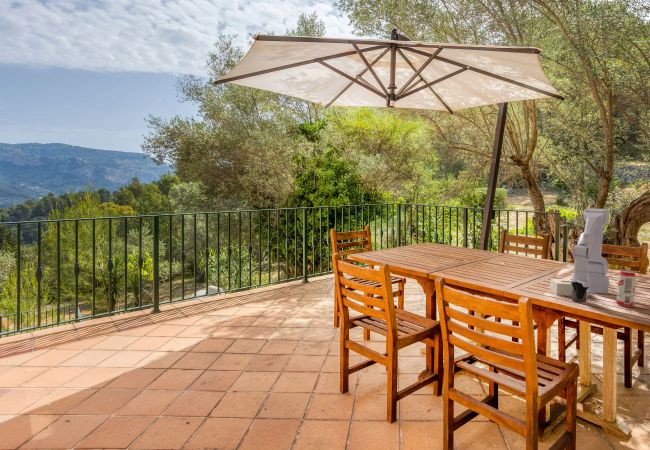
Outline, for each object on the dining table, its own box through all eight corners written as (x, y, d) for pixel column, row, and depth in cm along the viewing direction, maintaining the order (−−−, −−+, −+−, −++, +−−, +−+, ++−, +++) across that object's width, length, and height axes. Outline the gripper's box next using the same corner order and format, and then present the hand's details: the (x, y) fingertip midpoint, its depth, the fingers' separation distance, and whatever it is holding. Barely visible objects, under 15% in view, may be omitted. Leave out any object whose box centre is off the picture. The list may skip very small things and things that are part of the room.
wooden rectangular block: (584, 300, 186) (584, 290, 185) (586, 302, 184) (586, 291, 183) (571, 299, 187) (572, 289, 187) (573, 301, 185) (573, 291, 185)
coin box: (579, 291, 202) (580, 280, 201) (587, 296, 192) (588, 285, 191) (550, 289, 205) (550, 278, 204) (556, 295, 195) (557, 283, 195)
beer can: (618, 306, 177) (621, 272, 175) (614, 302, 183) (617, 269, 181) (635, 308, 175) (638, 273, 173) (630, 304, 181) (633, 270, 179)
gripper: (565, 266, 192) (564, 293, 193) (577, 273, 178) (575, 301, 179) (582, 267, 190) (580, 294, 192) (594, 273, 176) (592, 303, 178)
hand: (578, 298), depth 185 cm, fingers closed on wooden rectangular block, 2 cm apart
